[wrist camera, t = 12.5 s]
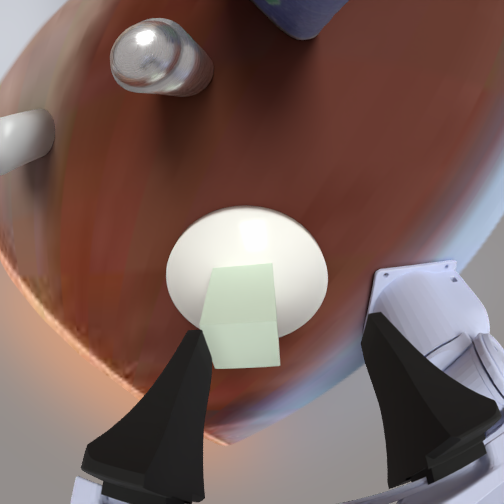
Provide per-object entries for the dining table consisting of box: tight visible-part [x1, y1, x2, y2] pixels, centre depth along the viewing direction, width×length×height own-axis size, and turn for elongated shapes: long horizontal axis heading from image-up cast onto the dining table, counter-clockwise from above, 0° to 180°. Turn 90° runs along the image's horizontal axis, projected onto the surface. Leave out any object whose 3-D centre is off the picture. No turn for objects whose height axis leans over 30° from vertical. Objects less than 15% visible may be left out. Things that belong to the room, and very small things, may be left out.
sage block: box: [199, 263, 280, 369], centre depth 19 cm, size 4×4×6 cm
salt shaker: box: [110, 18, 214, 97], centre depth 11 cm, size 4×4×9 cm
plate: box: [166, 206, 328, 338], centre depth 22 cm, size 13×13×1 cm
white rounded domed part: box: [0, 109, 55, 175], centre depth 14 cm, size 4×4×5 cm
